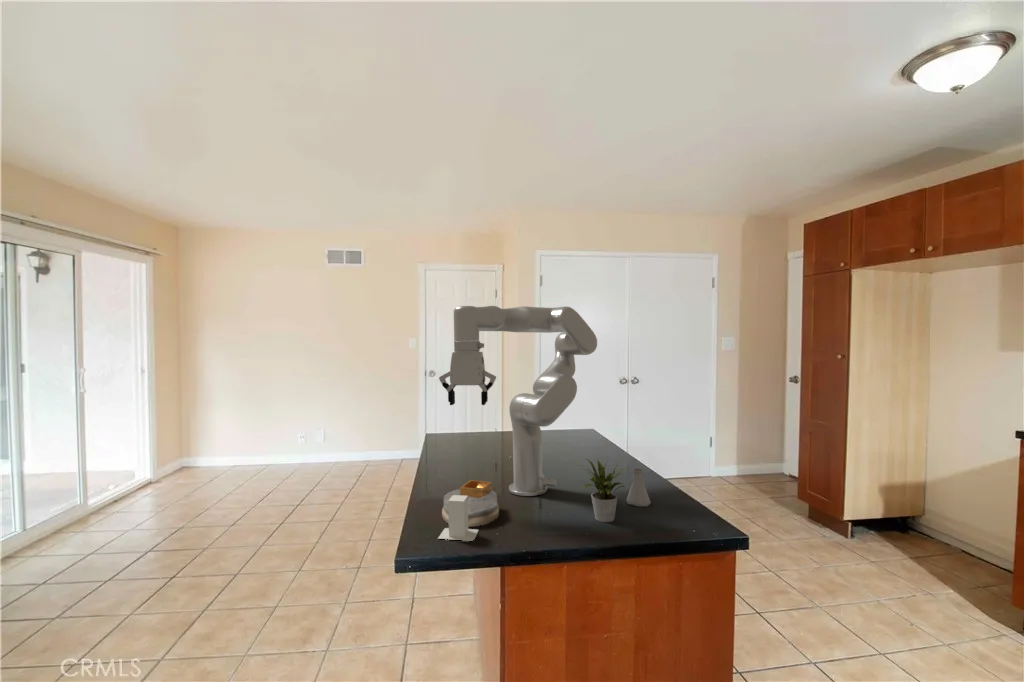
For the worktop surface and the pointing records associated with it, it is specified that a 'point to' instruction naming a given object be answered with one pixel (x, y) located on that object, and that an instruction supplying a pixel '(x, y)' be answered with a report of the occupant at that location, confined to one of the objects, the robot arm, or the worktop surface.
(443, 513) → the base
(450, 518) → the white rectangular block
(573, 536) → the worktop surface
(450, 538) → the mat
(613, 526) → the worktop surface
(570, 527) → the worktop surface
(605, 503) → the house plant
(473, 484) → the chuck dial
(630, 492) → the flask
